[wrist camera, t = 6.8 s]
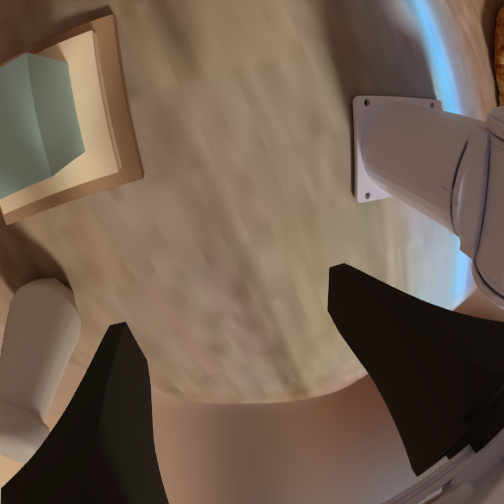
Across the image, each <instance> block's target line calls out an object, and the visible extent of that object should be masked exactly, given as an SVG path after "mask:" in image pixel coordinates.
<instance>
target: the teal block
mask: <svg viewBox="0 0 504 504" xmlns="http://www.w3.org/2000/svg"><path fill="white" fill-rule="evenodd" d="M84 152H86V151H85V147H84V143H83V139H82V135H81V131H80V126H79V122H78V117H77V113H76V108H75V103H74V98H73V92H72V87H71V81H70V74H69V68H68V63H65V62H62V61H58V60H55V59H51V58H48V57H44V56H40V55H36V54H32V53H28V52H26V53H24V54H23V55H21V56H19V57H17V58H15V59H13V60H12V61H10V62H8V63H6V64H5V65H3V66H1V67H0V199H2V198H4V197H7V196H9V195H11V194H13V193H15V192H17V191H20V190H22V189H24V188H26V187H29V186H31V185H33V184H36V183H38V182H40V181H43V180H45V179H48V178H50V177H52V176H54V175H55V174H56V173H57V172H59V171H60V170H61V169H63V168H64V167H65V166H67V165H68V164H69V163H71V162H72V161H73V160H75V159H76V158H77V157H79V156H80V155H81V154H83V153H84Z"/></svg>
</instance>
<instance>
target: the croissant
mask: <svg viewBox="0 0 504 504" xmlns="http://www.w3.org/2000/svg"><path fill="white" fill-rule="evenodd" d="M496 21H497V23H496V27H495V31H494V46H495V52H494V67H495V74H496V80H497V86H498V89H499V94H500V95H499V105H500V106H504V5H503V7H502V8H501V9H500V10H499V12H498V13H497V18H496Z"/></svg>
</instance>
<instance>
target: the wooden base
mask: <svg viewBox="0 0 504 504" xmlns="http://www.w3.org/2000/svg"><path fill="white" fill-rule="evenodd" d="M26 52H28V53H32V54H36V55H40V56H44V57H48V58H51V59H55V60H58V61H62V62H65V63H68V68H69V74H70V81H71V87H72V92H73V98H74V103H75V108H76V113H77V117H78V122H79V126H80V131H81V135H82V139H83V143H84V147H85V151H86V152H84V153H83V154H81V155H80V156H79V157H77V158H76V159H75V160H73V161H72V162H71V163H69V164H68V165H67V166H65V167H64V168H63V169H61V170H60V171H59V172H57V173H56V174H55V175H54V176H52V177H50V178H48V179H45V180H43V181H40V182H38V183H36V184H33V185H31V186H29V187H26V188H24V189H22V190H20V191H17V192H15V193H13V194H11V195H9V196H7V197H4V198H2V199H0V209H1V212H2V215H3V217H4V220H5V222H6V225H9V224H12V223H14V222H16V221H19V220H21V219H24V218H26V217H29V216H31V215H34V214H36V213H39V212H42V211H44V210H47V209H50V208H52V207H55V206H58V205H61V204H63V203H66V202H69V201H72V200H75V199H78V198H81V197H84V196H87V195H90V194H93V193H96V192H99V191H103V190H106V189H109V188H112V187H116V186H119V185H122V184H126V183H129V182H133V181H137V180H140V179H143V177H144V170H143V165H142V161H141V157H140V153H139V148H138V144H137V140H136V135H135V130H134V126H133V121H132V116H131V111H130V106H129V100H128V95H127V89H126V84H125V78H124V72H123V65H122V59H121V52H120V45H119V37H118V29H117V20H116V18H115V16H114V15H113V14H112V15H109V16H105V17H102V18H99V19H96V20H93V21H90V22H88V23H85V24H82V25H79V26H77V27H74V28H72V29H69V30H67V31H64V32H62V33H60V34H57V35H55V36H53V37H51V38H48V39H46V40H44V41H42V42H40V43H38V44H36V45H34V46H32V47H30V48H28V49H26V50H24V51H22V52H20V53H18V54H17V55H15V56H13V57H11V58H10V59H8V60H6V61H4V62H3V63H1V64H0V67H1V66H3V65H5V64H6V63H8V62H10V61H12V60H13V59H15V58H17V57H19V56H21V55H23V54H24V53H26Z"/></svg>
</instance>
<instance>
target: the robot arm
mask: <svg viewBox="0 0 504 504" xmlns="http://www.w3.org/2000/svg"><path fill="white" fill-rule="evenodd" d="M365 100H366V101H367V104H366V106H365V104H364V101H365ZM430 105H431V106H430ZM353 118H354V147H355V200H356V201H358V202H359V203H363V202H368V201H373V200H377V199H382V198H387V197H392V196H394V197H396V198H398V199H399V200H401V201H403V202H405V203H406V204H408V205H410V206H411V207H413V208H415V209H416V210H418V211H420V212H421V213H423V214H424V215H426V216H428V217H429V218H431V219H432V220H434V221H436V222H437V223H439V224H440V225H442V226H443V227H445V228H446V229H448V230H449V231H451V232H452V233H454V234H455V235H457V236H458V237H459V238H460V250H461V251H462V252H463V253H465V254H466V255H467V256H469V257H470V258H471V259H473V260H472V275H473V278H474V281H475V283H476V285H477V286H478V288H479V289H480V291H481V292H482V293H483V294H484V295H485V296H486V298H488V299H489V300H490V301H491V302H492V303H493V304H495V305H496V306H498V307H499V308H501V309H503V310H504V106H499V107H497V108H496V109H495V110H493V111H492V112H491V113H489V114H488V115H487V117H486V119H487V122H484V121H481V120H477V119H474V118H470V117H466V116H463V115H459V114H455V113H451V112H446V111H443V104H442V102H441V101H439V100H433V99H423V98H410V97H394V96H355V97H354V99H353ZM366 193H368V194H367V196H366V197H365V194H366ZM328 312H329V314H330V316H331V318H332V320H333V322H334V324H335V325H336V327H337V329H338V331H339V333H340V334H341V335H342V337H343V338H344V340H345V341H346V343H347V344H348V345H349V347H350V348H351V350H352V351H353V352H354V354H355V355H356V357H357V358H358V359H359V361H360V362H361V364H362V365H363V366H364V368H365V369H366V371H367V372H368V373H369V375H370V376H371V378H372V380H373V381H374V383H375V384H376V386H377V388H378V390H379V392H380V394H381V395H382V397H383V399H384V401H385V403H386V405H387V407H388V409H389V411H390V413H391V416H392V418H393V420H394V422H395V424H396V427H397V429H398V431H399V434H400V436H401V438H402V441H403V444H404V446H405V449H406V452H407V455H408V458H409V461H410V464H411V467H412V470H413V471H414V473H415V474H416V476H420V475H421V474H423V473H424V472H426V471H427V470H428V469H430V468H431V467H433V466H434V465H436V464H437V463H439V462H440V461H441V460H443V459H444V458H445V457H447V458H448V459H449V461H448V462H446V463H445V464H444V465H442V466H441V467H439V468H438V469H437V470H435V471H434V472H432V473H431V474H430V475H428V476H427V477H425V478H424V479H422V480H421V481H419V482H418V483H416V484H414V485H413V486H411V487H410V488H408V489H406V490H405V491H403V492H401V493H400V494H398V495H396V496H395V497H393V498H391V499H390V500H388V501H386V502H384V503H382V504H417V503H419V502H420V501H422V500H423V499H425V498H426V497H428V496H429V495H431V494H432V493H434V492H435V491H436V490H438V489H439V488H440V487H442V486H443V487H442V492H441V493H440V494H438V495H436V496H434V497H433V498H431V499H429V500H427V501H426V502H424V503H423V504H504V322H499V321H493V320H486V319H482V318H477V317H473V316H469V315H465V314H461V313H457V312H454V311H451V310H447V309H445V308H442V307H439V306H436V305H433V304H430V303H428V302H425V301H423V300H420V299H418V298H416V297H414V296H411V295H409V294H407V293H405V292H402V291H400V290H398V289H396V288H394V287H392V286H390V285H388V284H386V283H384V282H382V281H380V280H378V279H376V278H374V277H372V276H370V275H368V274H366V273H364V272H362V271H360V270H358V269H356V268H354V267H352V266H350V265H347V264H345V263H343V264H339V265H336V266H333V267H330V268H329V291H328ZM1 504H169V502H168V499H167V496H166V493H165V489H164V486H163V482H162V479H161V475H160V471H159V466H158V462H157V458H156V453H155V446H154V438H153V422H152V403H151V384H150V377H149V370H148V364H147V359H146V358H145V356H144V354H143V352H142V351H141V349H140V347H139V345H138V344H137V342H136V340H135V338H134V336H133V335H132V333H131V331H130V329H129V327H128V325H127V323H126V322H122V323H118V324H113V325H110V326H109V328H108V330H107V331H106V333H105V335H104V337H103V339H102V341H101V343H100V345H99V347H98V349H97V351H96V353H95V355H94V357H93V359H92V361H91V363H90V365H89V367H88V369H87V371H86V373H85V375H84V377H83V379H82V381H81V383H80V385H79V387H78V388H77V390H76V392H75V394H74V396H73V398H72V399H71V401H70V403H69V405H68V406H67V408H66V410H65V411H64V413H63V415H62V416H61V418H60V419H59V421H58V422H57V424H56V425H55V427H54V428H53V429H52V431H51V432H50V434H49V435H48V436H47V438H46V439H45V440H44V442H43V443H42V445H41V446H40V447H39V449H38V450H37V451H36V452H35V453H34V455H33V456H32V457H31V458H30V459H29V461H28V462H27V463H26V464H25V465H24V467H22V468H21V470H19V472H18V473H16V474H15V476H13V477H12V478H11V479H10V480H9V481H8V482H7V483H6V484H5V485H4V486H3V487H2V488H1Z"/></svg>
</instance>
